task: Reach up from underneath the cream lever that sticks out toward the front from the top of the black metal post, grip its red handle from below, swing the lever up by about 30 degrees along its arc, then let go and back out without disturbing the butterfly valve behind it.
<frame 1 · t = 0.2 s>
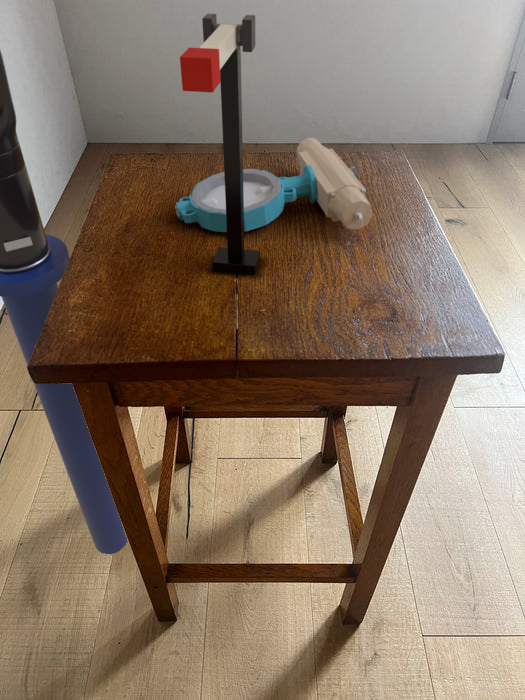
butterfly valve: (268, 210, 92), on the table
lever post: (236, 265, 79), on the table
lever: (215, 51, 55), point 29 cm above the table, hinge at 0.0°
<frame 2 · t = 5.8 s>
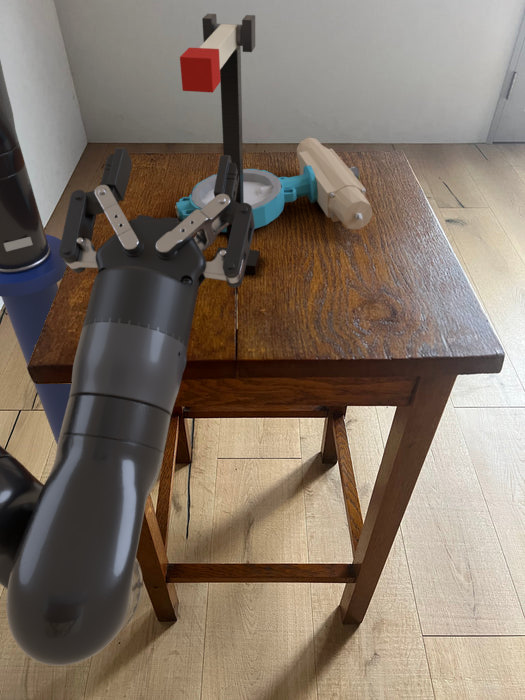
hand: (175, 157, 45), 25 cm above the table, tool pointing upward, fingers open, 8 cm apart
nothing on the table moved.
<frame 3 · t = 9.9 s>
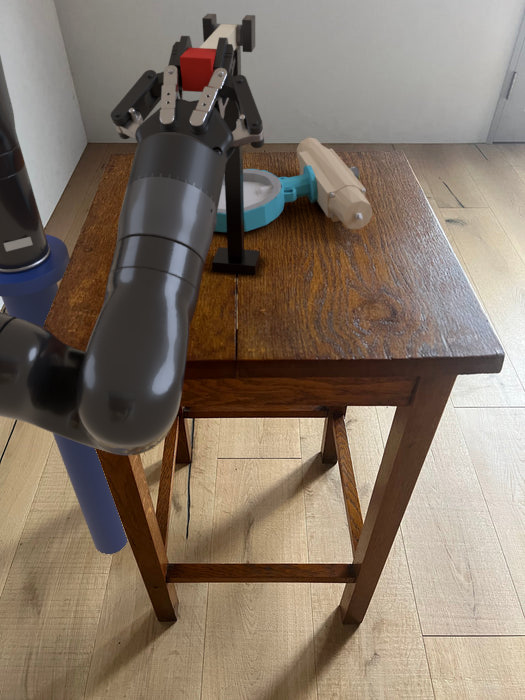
hand: (205, 45, 51), 30 cm above the table, tool pointing upward, fingers closed on lever, 3 cm apart
lever: (215, 51, 55), point 29 cm above the table, hinge at 0.0°, touching gripper
everything else where it was.
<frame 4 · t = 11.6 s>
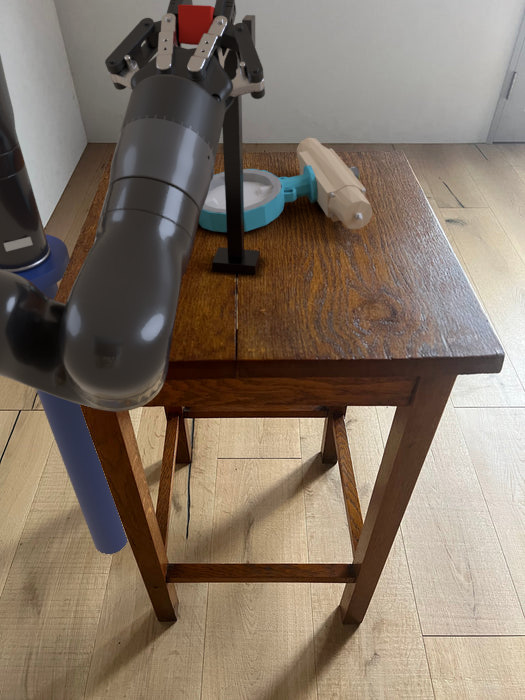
lever: (215, 30, 54), point 31 cm above the table, hinge at 15.1°, touching gripper
everything else where it was.
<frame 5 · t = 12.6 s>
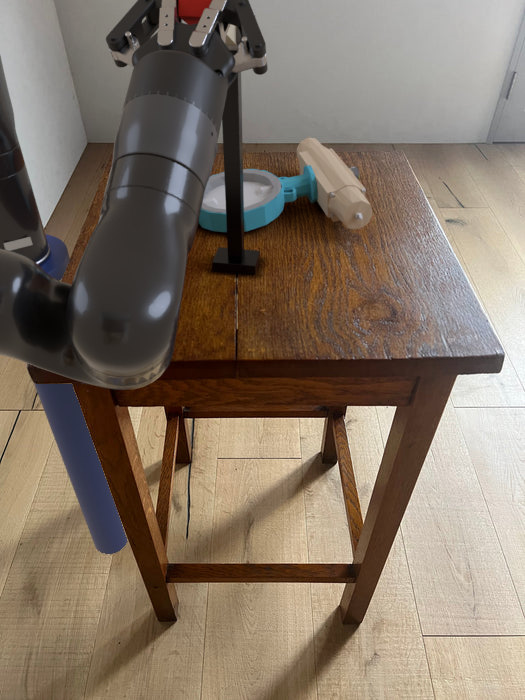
lever: (215, 19, 54), point 32 cm above the table, hinge at 22.7°, touching gripper
everything else where it was.
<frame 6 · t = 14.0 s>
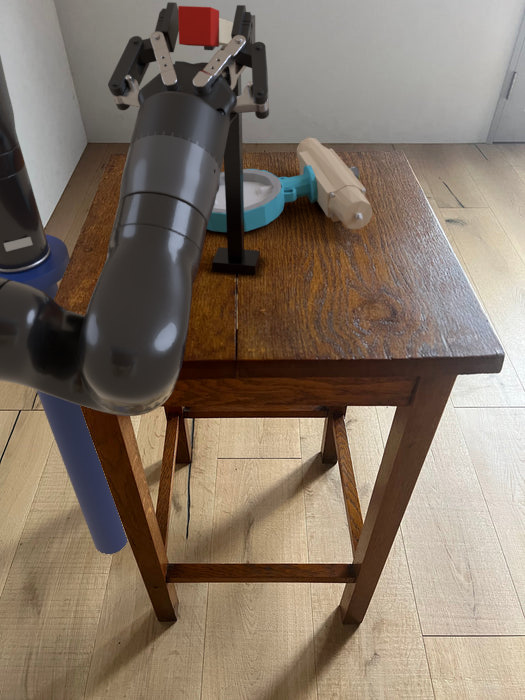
hand: (208, 12, 51), 33 cm above the table, tool pointing upward, fingers open, 5 cm apart
lever: (215, 31, 54), point 31 cm above the table, hinge at 14.7°
everything else where it was.
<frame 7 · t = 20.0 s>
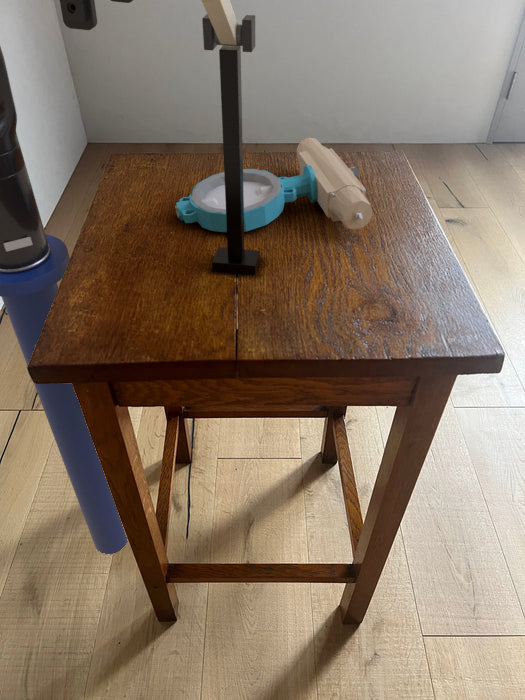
hand: (103, 13, 43), 34 cm above the table, tool pointing down, fingers open, 8 cm apart
lever: (216, 1, 53), point 33 cm above the table, hinge at 36.1°
everything else where it was.
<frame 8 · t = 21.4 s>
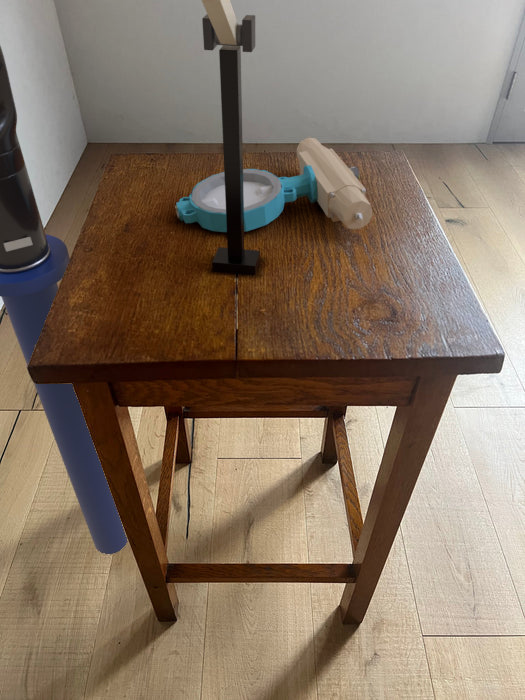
nothing on the table moved.
at the end: lever at +36° (first picture: +0°); the gripper is holding nothing; butterfly valve moved 0.2 cm from its start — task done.
